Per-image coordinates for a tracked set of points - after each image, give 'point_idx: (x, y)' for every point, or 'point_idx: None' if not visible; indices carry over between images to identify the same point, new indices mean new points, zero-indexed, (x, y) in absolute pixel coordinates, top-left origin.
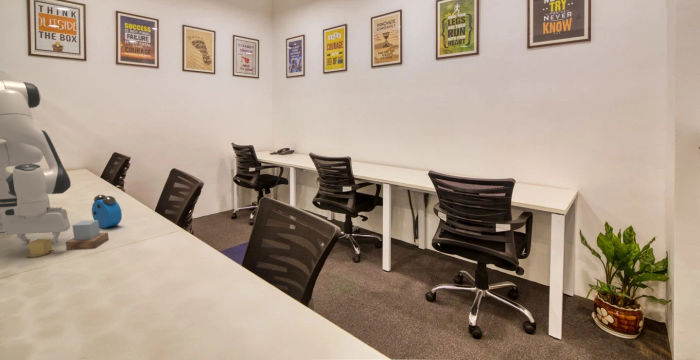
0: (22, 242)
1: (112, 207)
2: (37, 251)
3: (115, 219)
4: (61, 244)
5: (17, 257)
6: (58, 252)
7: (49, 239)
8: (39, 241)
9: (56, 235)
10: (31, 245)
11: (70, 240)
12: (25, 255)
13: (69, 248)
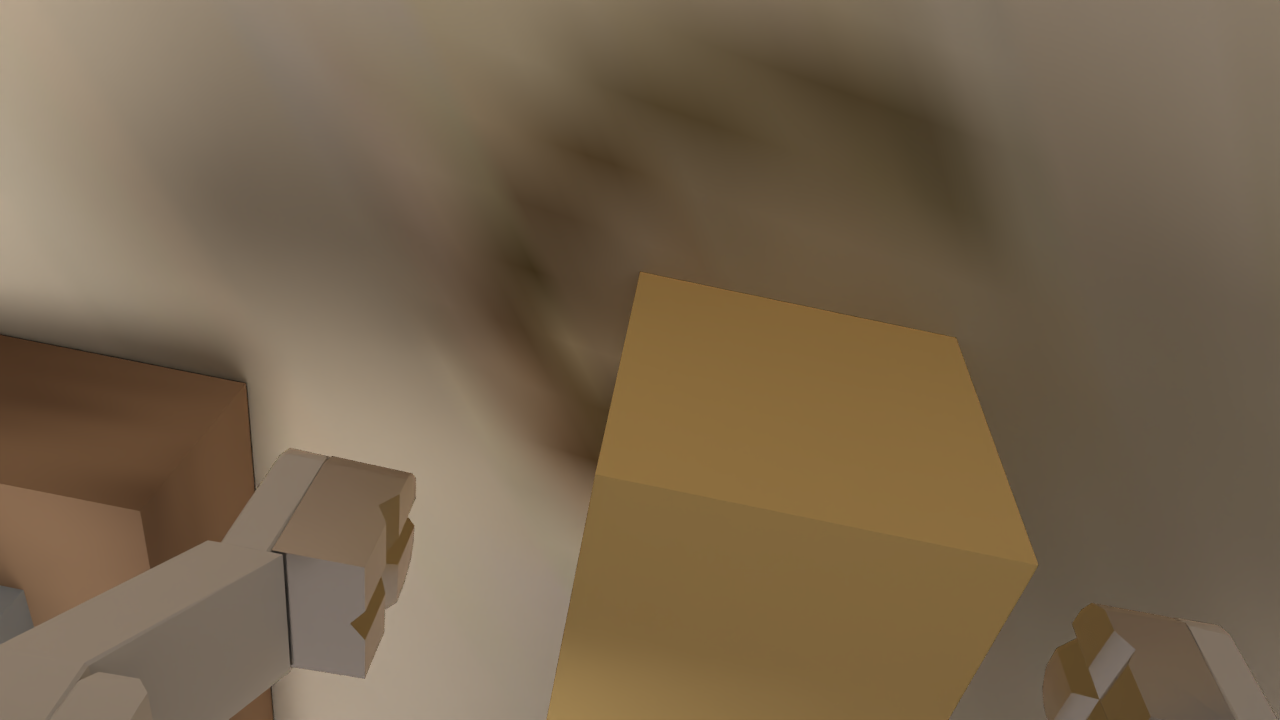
0: (1251, 686)
1: None
2: (783, 337)
3: None
4: None
5: (1228, 211)
6: (323, 251)
7: (552, 701)
8: (738, 606)
9: (42, 639)
10: (941, 489)
11: None
12: (1058, 301)
13: (170, 385)
